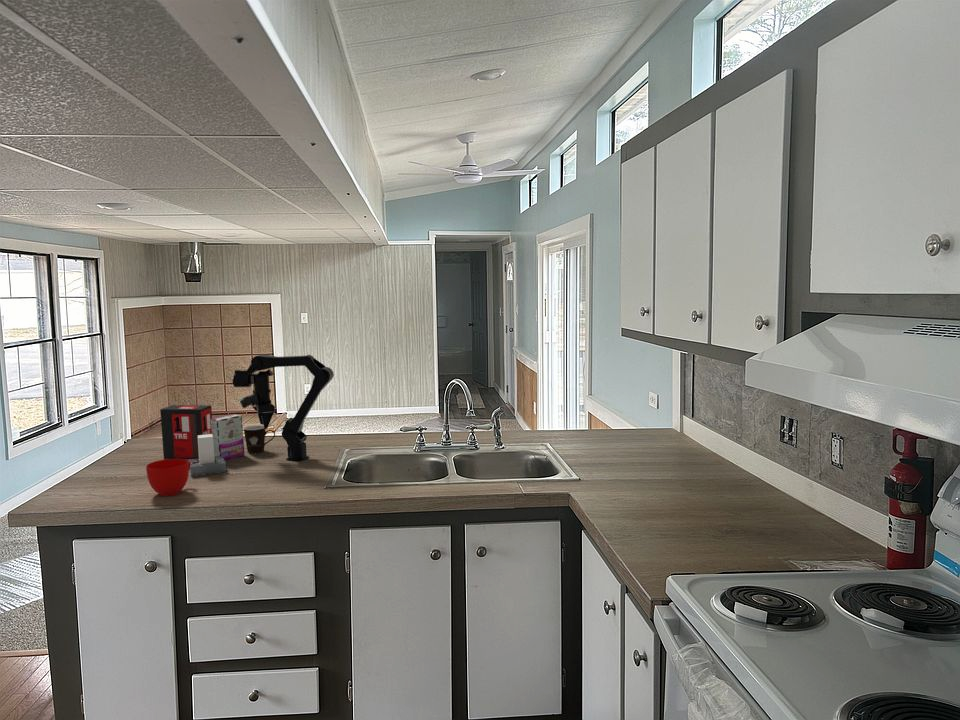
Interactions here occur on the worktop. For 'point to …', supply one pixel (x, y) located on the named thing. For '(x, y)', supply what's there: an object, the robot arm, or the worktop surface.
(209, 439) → the keyed peg
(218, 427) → the candy bar box
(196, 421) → the cleaning product box
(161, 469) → the ceramic cup
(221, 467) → the keyed socket block
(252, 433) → the coffee mug
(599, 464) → the worktop surface
